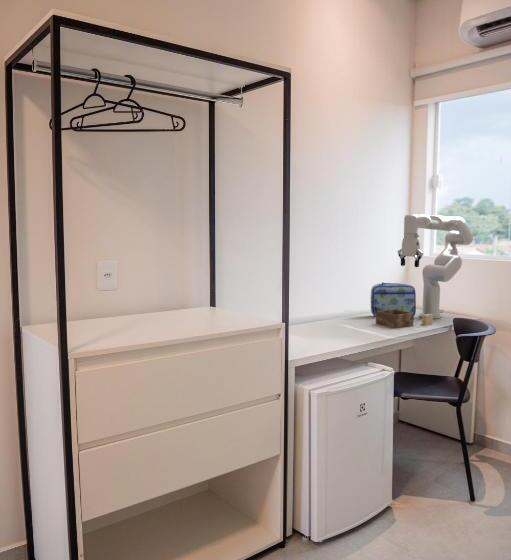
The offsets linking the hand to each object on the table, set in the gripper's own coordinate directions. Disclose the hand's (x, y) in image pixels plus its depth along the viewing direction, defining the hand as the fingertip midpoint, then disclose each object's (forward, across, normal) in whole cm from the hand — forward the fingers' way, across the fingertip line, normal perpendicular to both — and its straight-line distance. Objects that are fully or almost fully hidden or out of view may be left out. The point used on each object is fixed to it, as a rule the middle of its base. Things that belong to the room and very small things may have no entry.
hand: (409, 266), depth 302 cm
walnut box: (+31, -8, +22) cm, 39 cm away
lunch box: (+32, +11, +1) cm, 34 cm away
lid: (+32, -17, +5) cm, 37 cm away
